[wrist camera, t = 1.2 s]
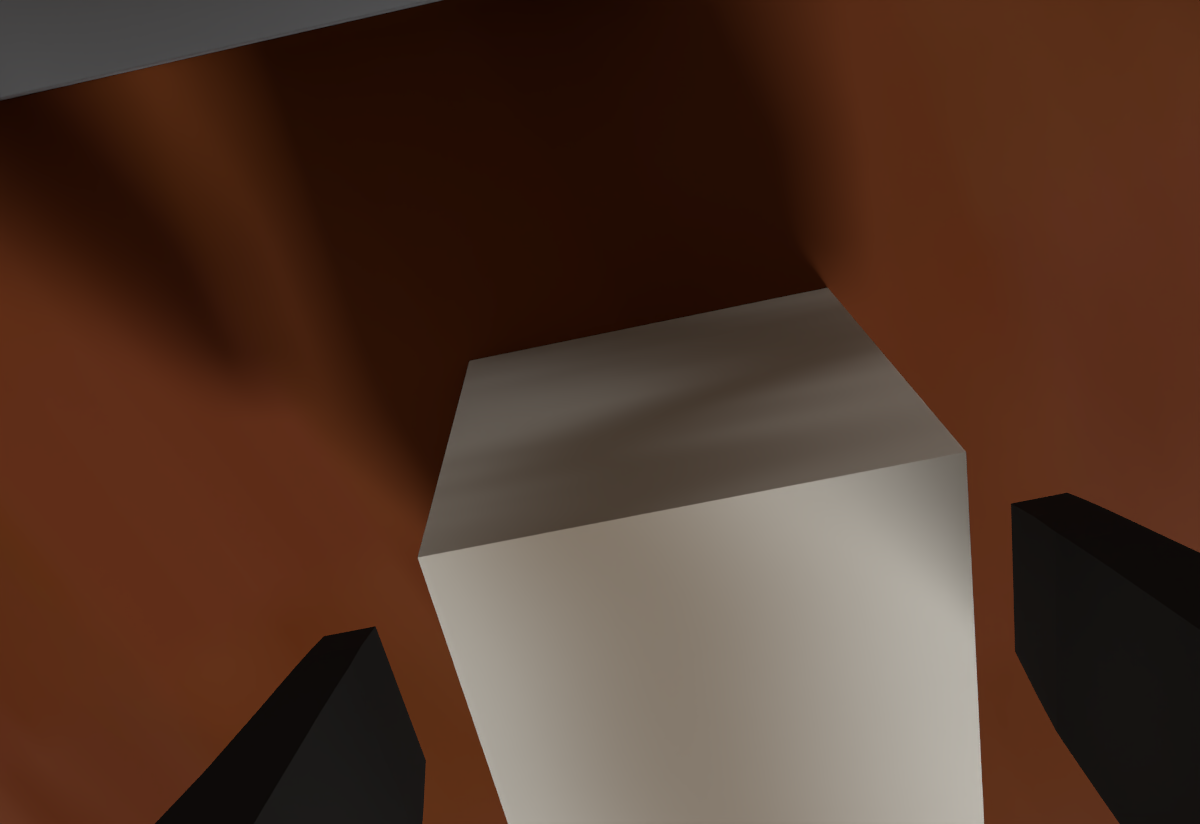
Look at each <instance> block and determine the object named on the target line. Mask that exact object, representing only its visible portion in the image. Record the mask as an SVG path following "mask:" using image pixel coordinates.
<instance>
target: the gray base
mask: <svg viewBox="0 0 1200 824" xmlns="http://www.w3.org/2000/svg"><path fill="white" fill-rule="evenodd" d="M438 1H442V0H0V101H2V100H6V99H10V98H15V97H19V96H24V95H28V94H32V93H37V92H41V91H46V90H50V89H54V88H59V87H63V86H68V85H72V84H76V83H81V82H85V81H90V80H94V79H98V78H103V77H107V76H112V75H116V74H120V73H125V72H129V71H134V70H138V69H142V68H147V67H151V66H156V65H160V64H164V63H169V62H173V61H178V60H182V59H186V58H191V57H195V56H200V55H204V54H208V53H213V52H217V51H222V50H226V49H231V48H235V47H239V46H244V45H248V44H253V43H257V42H261V41H266V40H270V39H275V38H279V37H283V36H288V35H292V34H297V33H301V32H305V31H310V30H314V29H319V28H323V27H327V26H332V25H336V24H341V23H345V22H349V21H354V20H358V19H363V18H367V17H371V16H376V15H380V14H385V13H389V12H393V11H398V10H402V9H407V8H411V7H415V6H420V5H424V4H429V3H433V2H438Z"/></svg>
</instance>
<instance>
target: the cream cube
mask: <svg viewBox="0 0 1200 824" xmlns="http://www.w3.org/2000/svg"><path fill="white" fill-rule="evenodd" d="M418 560H419V563H420V566H421V569H422V571H423V574H424V577H425V580H426V583H427V586H428V589H429V592H430V595H431V598H432V601H433V604H434V607H435V610H436V613H437V616H438V619H439V622H440V624H441V627H442V630H443V633H444V636H445V639H446V642H447V645H448V648H449V651H450V654H451V657H452V660H453V663H454V666H455V669H456V672H457V675H458V677H459V680H460V683H461V686H462V689H463V692H464V695H465V698H466V701H467V704H468V707H469V710H470V713H471V716H472V719H473V722H474V725H475V728H476V730H477V733H478V736H479V739H480V742H481V745H482V748H483V751H484V754H485V757H486V760H487V763H488V766H489V769H490V772H491V775H492V778H493V781H494V783H495V786H496V789H497V792H498V795H499V798H500V801H501V804H502V807H503V810H504V813H505V816H506V819H507V822H508V824H984V814H983V794H982V773H981V753H980V732H979V711H978V691H977V670H976V650H975V629H974V608H973V588H972V567H971V547H970V526H969V505H968V485H967V464H966V451H965V450H964V449H963V448H962V447H961V446H960V444H959V443H958V442H957V441H956V440H955V438H954V437H953V436H952V435H951V434H950V432H949V431H948V430H947V429H946V428H945V427H944V425H943V424H942V423H941V422H940V421H939V419H938V418H937V417H936V416H935V415H934V413H933V412H932V411H931V410H930V409H929V408H928V406H927V405H926V404H925V403H924V402H923V400H922V399H921V398H920V397H919V396H918V394H917V393H916V392H915V391H914V390H913V389H912V387H911V386H910V385H909V384H908V383H907V381H906V380H905V379H904V378H903V377H902V375H901V374H900V373H899V372H898V371H897V370H896V368H895V367H894V366H893V365H892V364H891V362H890V361H889V360H888V359H887V358H886V357H885V355H884V354H883V353H882V352H881V351H880V349H879V348H878V347H877V346H876V345H875V343H874V342H873V341H872V340H871V339H870V338H869V336H868V335H867V334H866V333H865V332H864V330H863V329H862V328H861V327H860V326H859V324H858V323H857V322H856V321H855V320H854V319H853V317H852V316H851V315H850V314H849V313H848V311H847V310H846V309H845V308H844V307H843V305H842V304H841V303H840V302H839V301H838V300H837V298H836V297H835V296H834V295H833V294H832V292H831V291H830V290H829V289H828V288H824V289H819V290H814V291H809V292H804V293H799V294H794V295H789V296H784V297H779V298H775V299H770V300H765V301H760V302H755V303H750V304H745V305H740V306H735V307H731V308H726V309H721V310H716V311H711V312H706V313H701V314H696V315H691V316H687V317H682V318H677V319H672V320H667V321H662V322H657V323H652V324H647V325H643V326H638V327H633V328H628V329H623V330H618V331H613V332H608V333H603V334H598V335H594V336H589V337H584V338H579V339H574V340H569V341H564V342H559V343H554V344H550V345H545V346H540V347H535V348H530V349H525V350H520V351H515V352H510V353H506V354H501V355H496V356H491V357H486V358H481V359H476V360H471V361H469V364H468V368H467V372H466V376H465V380H464V383H463V387H462V391H461V395H460V399H459V402H458V406H457V410H456V414H455V418H454V421H453V425H452V429H451V433H450V437H449V440H448V444H447V448H446V452H445V456H444V460H443V463H442V467H441V471H440V475H439V479H438V482H437V486H436V490H435V494H434V498H433V501H432V505H431V509H430V513H429V517H428V521H427V524H426V528H425V532H424V536H423V540H422V543H421V547H420V551H419V555H418Z"/></svg>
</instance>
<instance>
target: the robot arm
mask: <svg viewBox="0 0 1200 824" xmlns="http://www.w3.org/2000/svg"><path fill="white" fill-rule="evenodd" d="M1011 514H1012V551H1013V588H1014V625H1015V652H1016V654H1017V656H1018V658H1019V660H1020V662H1021V664H1022V666H1023V668H1024V670H1025V672H1026V674H1027V676H1028V678H1029V680H1030V682H1031V684H1032V686H1033V688H1034V690H1035V692H1036V694H1037V696H1038V698H1039V699H1040V701H1041V703H1042V705H1043V707H1044V709H1045V711H1046V713H1047V714H1048V716H1049V718H1050V720H1051V722H1052V724H1053V726H1054V728H1055V729H1056V731H1057V733H1058V734H1059V736H1060V737H1061V739H1062V740H1063V742H1064V743H1065V745H1066V746H1067V748H1068V749H1069V751H1070V752H1071V754H1072V755H1073V757H1074V758H1075V760H1076V761H1077V763H1078V764H1079V765H1080V767H1081V768H1082V770H1083V771H1084V773H1085V774H1086V776H1087V777H1088V779H1089V780H1090V782H1091V783H1092V784H1093V786H1094V787H1095V789H1096V790H1097V792H1098V793H1099V795H1100V796H1101V798H1102V799H1103V800H1104V802H1105V803H1106V805H1107V806H1108V808H1109V809H1110V810H1111V812H1112V813H1113V815H1114V816H1115V818H1116V819H1117V821H1118V822H1119V823H1120V824H1200V553H1199V552H1197V551H1195V550H1192V549H1190V548H1188V547H1186V546H1184V545H1182V544H1180V543H1177V542H1175V541H1173V540H1171V539H1169V538H1167V537H1165V536H1162V535H1160V534H1158V533H1156V532H1154V531H1152V530H1150V529H1148V528H1145V527H1143V526H1141V525H1139V524H1137V523H1135V522H1133V521H1131V520H1128V519H1126V518H1124V517H1122V516H1120V515H1118V514H1115V513H1113V512H1111V511H1109V510H1107V509H1105V508H1102V507H1100V506H1098V505H1096V504H1093V503H1091V502H1089V501H1086V500H1084V499H1082V498H1079V497H1077V496H1074V495H1072V494H1069V493H1064V494H1059V495H1054V496H1048V497H1043V498H1038V499H1033V500H1028V501H1023V502H1017V503H1012V504H1011ZM425 763H426V760H425V757H424V755H423V752H422V749H421V747H420V744H419V741H418V739H417V736H416V733H415V731H414V728H413V725H412V723H411V720H410V717H409V715H408V712H407V709H406V707H405V704H404V702H403V699H402V696H401V694H400V691H399V688H398V686H397V683H396V680H395V678H394V675H393V672H392V670H391V667H390V664H389V662H388V659H387V656H386V654H385V651H384V648H383V646H382V643H381V640H380V638H379V635H378V632H377V630H376V627H370V628H365V629H360V630H355V631H349V632H344V633H339V634H334V635H329V636H324V637H323V638H322V639H321V640H320V641H319V642H318V643H317V644H316V645H315V646H314V647H313V648H312V649H311V650H310V651H309V653H308V654H307V655H306V656H305V657H304V658H303V659H302V660H301V661H300V663H299V664H298V665H297V666H296V667H295V668H294V669H293V671H292V672H291V673H290V674H289V675H288V676H287V677H286V679H285V680H284V681H283V682H282V683H281V684H280V686H279V687H278V688H277V689H276V690H275V691H274V693H273V694H272V695H271V696H270V697H269V698H268V700H267V701H266V702H265V703H264V704H263V705H262V707H261V708H260V709H259V710H258V711H257V712H256V714H255V715H254V716H253V717H252V718H251V719H250V720H249V722H248V723H247V724H246V725H245V726H244V727H243V728H242V729H241V731H240V732H239V733H238V734H237V735H236V736H235V737H234V739H233V740H232V741H231V742H230V743H229V744H228V745H227V747H226V748H225V749H224V750H223V751H222V752H221V753H220V755H219V756H218V757H217V758H216V759H215V760H214V761H213V763H212V764H211V765H210V766H209V767H208V768H207V769H206V770H205V772H204V773H203V774H202V775H201V776H200V777H199V778H198V779H197V780H196V781H195V782H194V783H193V784H192V785H191V786H190V787H189V788H188V790H187V791H186V792H185V793H184V794H183V795H182V796H181V797H180V798H179V799H178V800H177V801H176V802H175V803H174V804H173V805H172V806H171V807H170V808H169V810H168V811H167V812H166V813H165V814H164V815H163V816H162V817H161V818H160V819H159V820H158V821H157V822H156V823H155V824H422V820H423V805H424V784H425Z"/></svg>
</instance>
